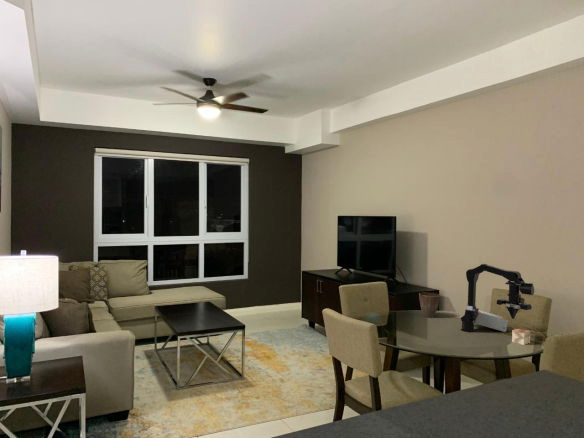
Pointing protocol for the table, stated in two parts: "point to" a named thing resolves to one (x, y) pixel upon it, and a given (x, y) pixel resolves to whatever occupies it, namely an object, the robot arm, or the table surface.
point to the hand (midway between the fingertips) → (513, 318)
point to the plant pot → (429, 303)
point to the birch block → (521, 336)
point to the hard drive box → (491, 321)
